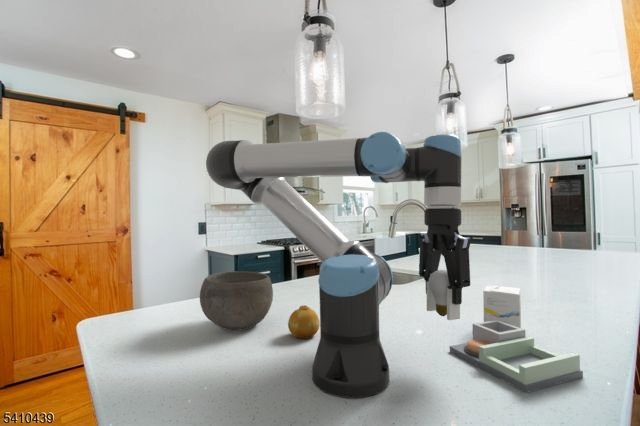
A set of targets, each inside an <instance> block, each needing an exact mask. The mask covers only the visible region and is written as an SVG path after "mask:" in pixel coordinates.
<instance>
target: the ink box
mask: <svg viewBox="0 0 640 426" xmlns="http://www.w3.org/2000/svg"><path fill="white" fill-rule="evenodd" d="M521 307H522V306H521V288H520V287H511V286H503V285H502V286H501V285H486V286H485V287H484V289H483V322H487V321H493V320H498V321H501V322H504V323H507V324H510V325H513V326H516V327H519V328H522V326H521V325H522V317H521V315H522V313H521V309H522V308H521Z"/></svg>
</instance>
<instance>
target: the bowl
mask: <svg viewBox="0 0 640 426" xmlns="http://www.w3.org/2000/svg"><path fill="white" fill-rule="evenodd" d="M200 287H201V288H200V291H199V305H200V308H201V311H202V312H203V314H204V316H205V317H206V318H207V319H208V321H211V322H212V323H213V324H215V325H216V326H218V327H220V328H222V329H224V330H227V331H243V330H247V329H250V328H253V327H254V326H256V325H258V324H259V323H261V321H263V320H264V319H265V318H266V317H267V315H268V313H269V311H270V309H271V306H272V303H273V298H274V290H273V284H272V279H271V278H270V276H269V275H268V274H267V273H262V272H255V271H245V270H244V271H240V270H239V271H237V270H236V271H235V270H234V271H233V270H232V271H231V270H230V271H223V272H215V273H212V274H209V275H207V276H206V277H205V278H204V280H203V281H202V285H201V286H200Z"/></svg>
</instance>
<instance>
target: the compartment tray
mask: <svg viewBox="0 0 640 426" xmlns="http://www.w3.org/2000/svg"><path fill="white" fill-rule="evenodd" d="M472 340H481V341H486V342H489V343H491V344H488V345H483V346H479V354H476V353H473V352H471V351H469V350H468V349H467V342H465V343H460V344H456V345H455V344H454V345H449V352H450V353H452V354H453V355H455V356H456V357H457V356H458V357H459V358H461V359H463V360H465V361H467V362H469V363H471V365H474V366H476V367H478V368H480V369H481V370H483V371H485V372H487V373H489V374H491V375H493V376H495V377H497V378H498V379H500V380H502V381H503V382H506V383H507V384H509V385H511V386H513V387H515V388H517V389H518V390H520V391H522V392H523V393H530V392H533V391H537V390H542V389H545V388H550V387H553V386H557V385H559V384H563V383H567V382H570V381H575V380H578V379H582V378H584V372H583V370H581V359H580V358H581V357H580V354H579V353H578V354H577V353H575V352H571V353H565V354H562V355H560V354H557V353H556V352H553V351H550V350H547V349H544V348H542V347H540V346H537V345H535V338H534V337H532V336H526V329H523V328H522V327H521V328H519V327H516V326H513V325H510V324H507V323H504V322H501V321H498V320H493V321H487V322H484V321H481V322H477V323H476V322H475V323H472Z"/></svg>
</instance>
